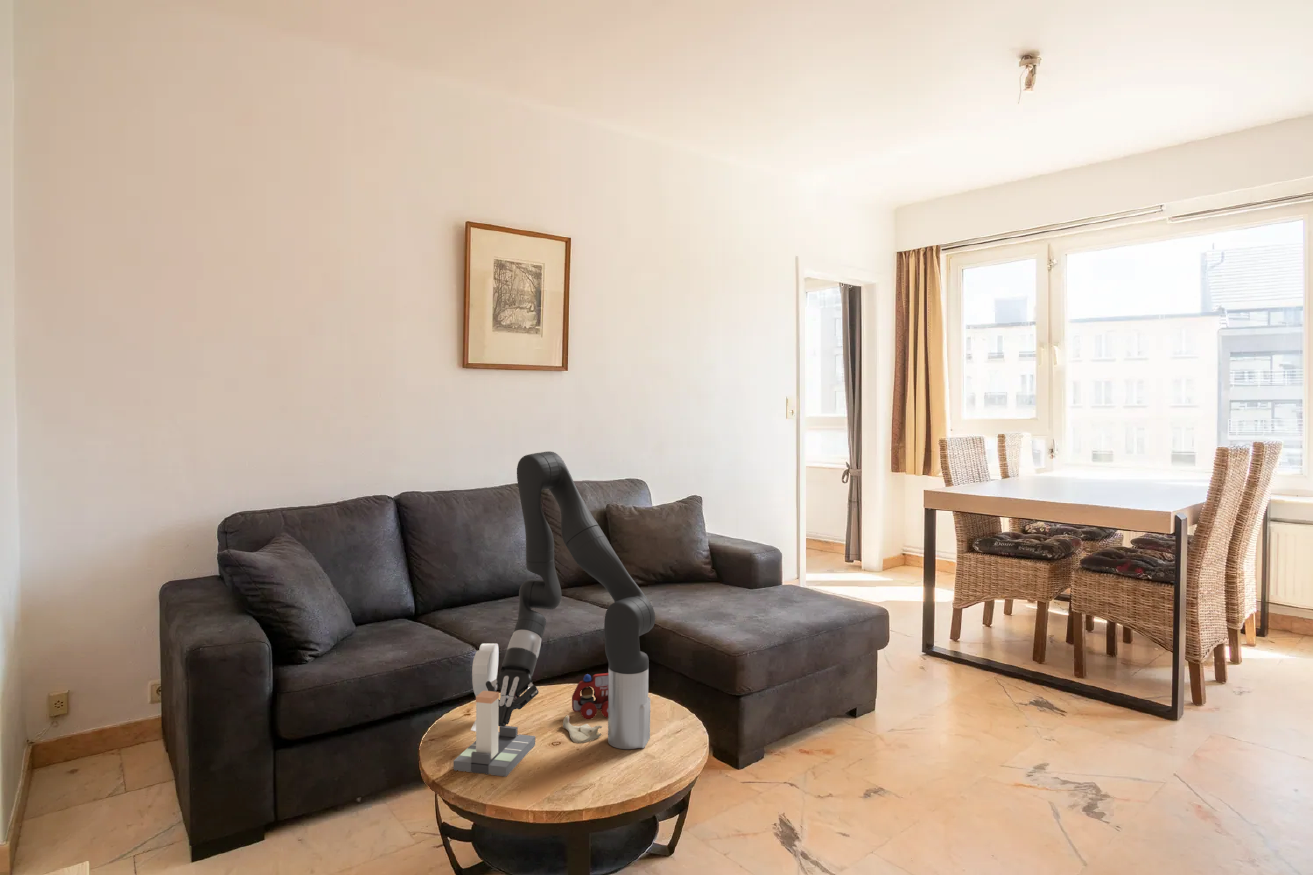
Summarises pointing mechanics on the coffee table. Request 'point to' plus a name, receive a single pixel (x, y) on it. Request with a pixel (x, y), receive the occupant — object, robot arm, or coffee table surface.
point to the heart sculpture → (484, 669)
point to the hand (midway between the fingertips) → (500, 724)
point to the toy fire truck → (587, 700)
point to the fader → (487, 722)
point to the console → (504, 761)
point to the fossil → (581, 731)
